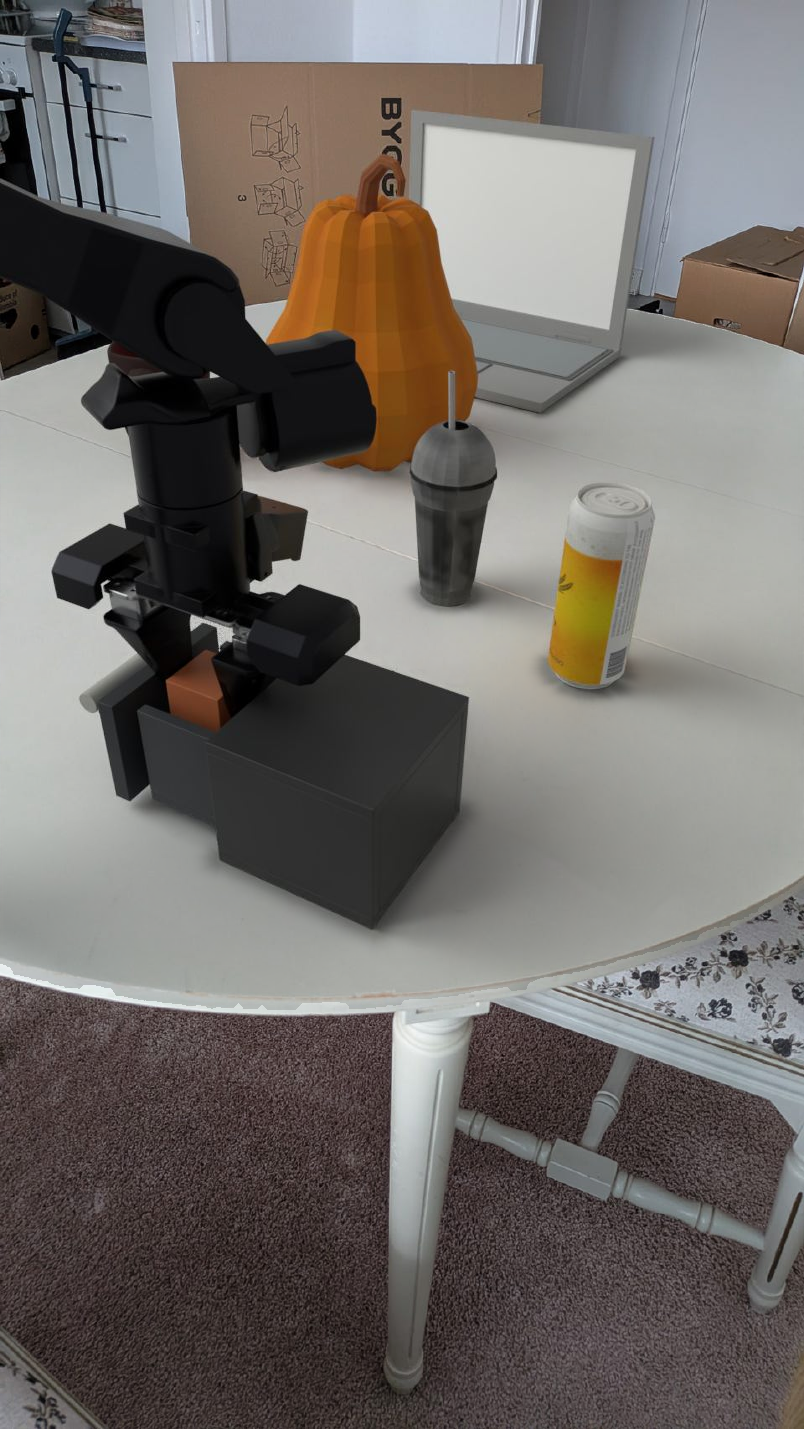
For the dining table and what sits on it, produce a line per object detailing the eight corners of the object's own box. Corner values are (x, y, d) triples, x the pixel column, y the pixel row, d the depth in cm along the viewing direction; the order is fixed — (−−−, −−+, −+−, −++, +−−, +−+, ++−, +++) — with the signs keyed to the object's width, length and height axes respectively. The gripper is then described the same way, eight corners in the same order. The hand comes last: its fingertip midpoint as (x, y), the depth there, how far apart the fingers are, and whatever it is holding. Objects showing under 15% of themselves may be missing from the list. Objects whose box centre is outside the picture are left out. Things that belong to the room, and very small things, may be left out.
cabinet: (219, 860, 62) (204, 741, 56) (319, 756, 70) (315, 644, 65) (372, 929, 58) (373, 810, 52) (459, 811, 66) (469, 696, 61)
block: (211, 698, 67) (205, 649, 64) (260, 717, 65) (256, 667, 63) (172, 730, 64) (165, 680, 62) (223, 751, 63) (217, 700, 60)
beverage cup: (501, 587, 90) (523, 364, 77) (461, 623, 85) (478, 391, 72) (432, 564, 93) (442, 346, 80) (389, 598, 88) (393, 371, 75)
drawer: (68, 774, 67) (45, 680, 62) (168, 695, 74) (155, 605, 69) (240, 851, 62) (229, 755, 57) (329, 757, 69) (327, 665, 64)
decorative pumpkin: (514, 465, 111) (544, 159, 92) (324, 511, 101) (315, 179, 82) (404, 396, 126) (411, 124, 108) (230, 430, 116) (206, 136, 98)
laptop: (310, 358, 137) (303, 130, 120) (409, 313, 155) (415, 109, 138) (540, 413, 123) (569, 165, 106) (620, 357, 141) (655, 136, 124)
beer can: (577, 641, 83) (605, 472, 74) (638, 672, 80) (674, 499, 70) (531, 669, 80) (553, 496, 70) (592, 703, 76) (624, 526, 67)
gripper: (410, 472, 57) (402, 692, 66) (153, 406, 63) (179, 614, 73) (302, 553, 49) (311, 790, 58) (22, 468, 56) (71, 692, 65)
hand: (215, 712), depth 64 cm, fingers closed on block, 4 cm apart
